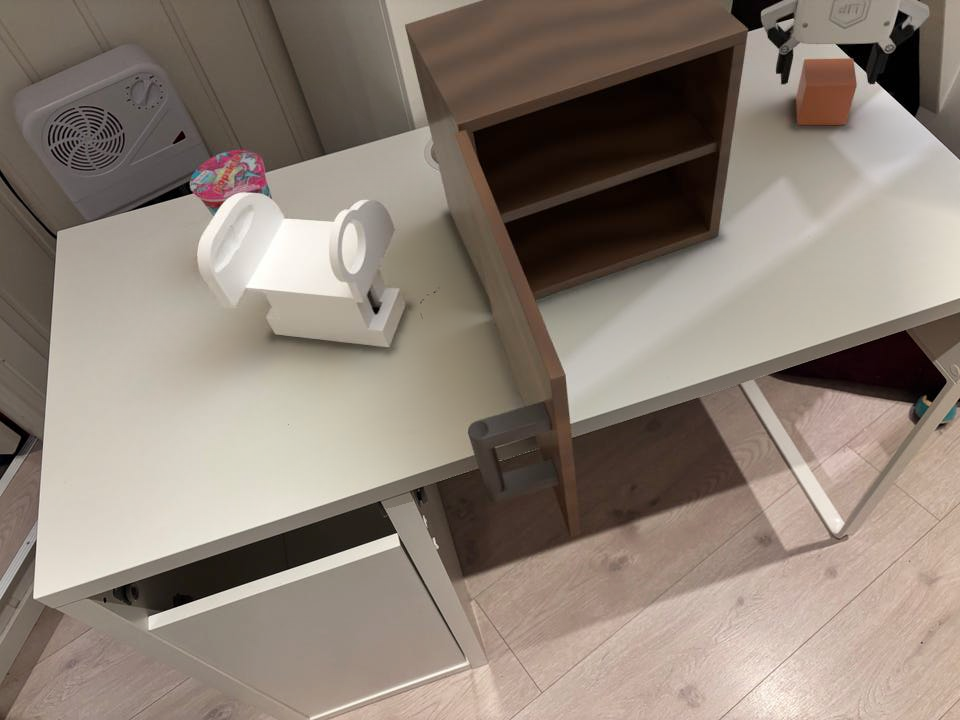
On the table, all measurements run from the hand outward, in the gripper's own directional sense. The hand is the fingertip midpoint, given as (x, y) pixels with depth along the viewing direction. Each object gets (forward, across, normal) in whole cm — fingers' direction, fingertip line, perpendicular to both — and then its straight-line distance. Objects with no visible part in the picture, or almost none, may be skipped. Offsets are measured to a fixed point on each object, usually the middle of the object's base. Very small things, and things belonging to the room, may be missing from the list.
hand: (826, 77), depth 89 cm
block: (+4, 0, 0) cm, 5 cm away
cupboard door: (+4, -31, -50) cm, 59 cm away
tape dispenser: (+5, -52, -39) cm, 65 cm away
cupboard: (+4, -27, -22) cm, 35 cm away
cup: (+5, -65, -28) cm, 71 cm away
